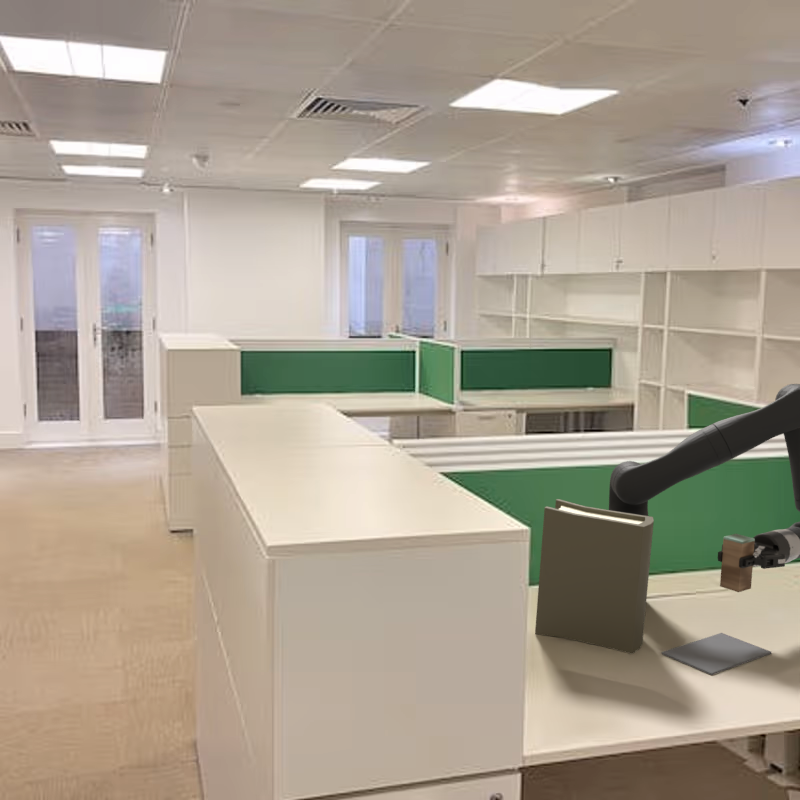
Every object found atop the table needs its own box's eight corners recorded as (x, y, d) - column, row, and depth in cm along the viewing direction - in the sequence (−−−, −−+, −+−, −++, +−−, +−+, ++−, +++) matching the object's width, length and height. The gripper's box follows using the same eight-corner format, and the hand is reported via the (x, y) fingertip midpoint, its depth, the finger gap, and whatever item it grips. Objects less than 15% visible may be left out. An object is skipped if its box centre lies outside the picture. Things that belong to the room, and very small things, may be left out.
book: (645, 641, 194) (656, 514, 190) (635, 657, 186) (647, 524, 182) (548, 620, 204) (557, 498, 200) (535, 634, 195) (544, 507, 191)
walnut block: (738, 592, 192) (742, 541, 190) (719, 586, 195) (723, 536, 194) (750, 588, 194) (754, 538, 193) (732, 582, 198) (736, 533, 196)
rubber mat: (711, 675, 177) (711, 673, 177) (661, 653, 186) (661, 651, 186) (771, 653, 188) (771, 651, 188) (721, 634, 198) (721, 632, 198)
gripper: (748, 524, 207) (702, 534, 197) (807, 539, 196) (761, 551, 186) (745, 555, 208) (700, 568, 198) (804, 572, 197) (759, 586, 187)
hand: (730, 560), depth 192 cm, fingers closed on walnut block, 4 cm apart
